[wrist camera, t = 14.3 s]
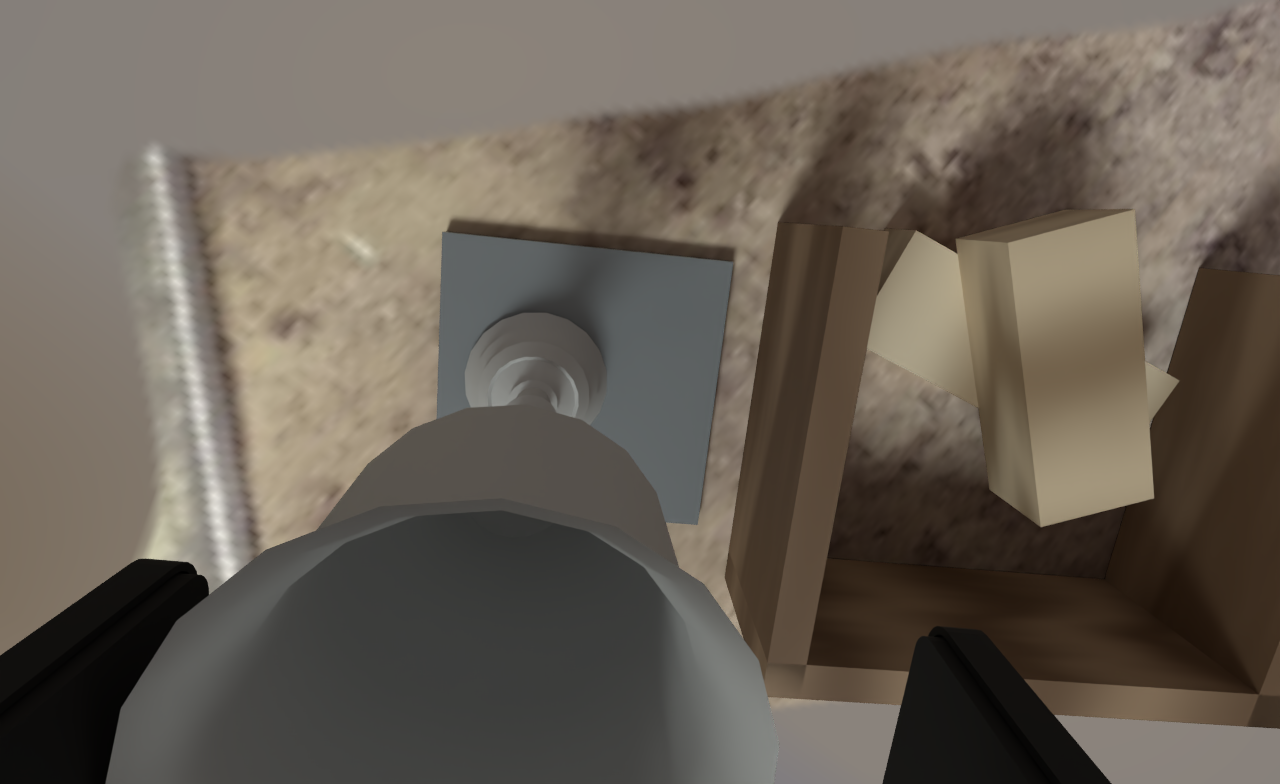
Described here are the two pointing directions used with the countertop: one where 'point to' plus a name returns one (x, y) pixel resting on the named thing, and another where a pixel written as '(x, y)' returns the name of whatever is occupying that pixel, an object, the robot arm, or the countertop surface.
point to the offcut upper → (1060, 362)
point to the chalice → (466, 617)
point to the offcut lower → (941, 319)
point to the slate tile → (604, 340)
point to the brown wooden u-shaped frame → (1007, 601)
